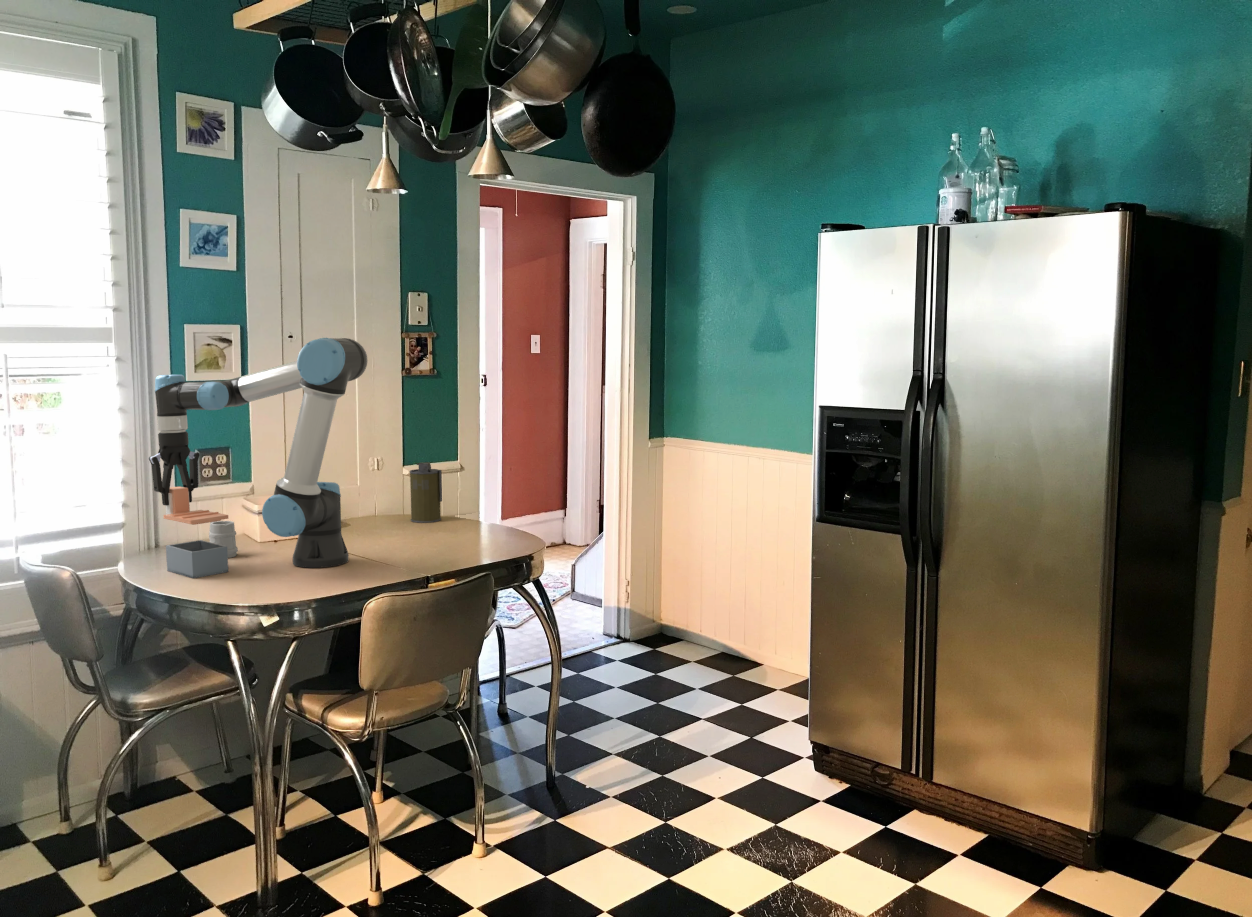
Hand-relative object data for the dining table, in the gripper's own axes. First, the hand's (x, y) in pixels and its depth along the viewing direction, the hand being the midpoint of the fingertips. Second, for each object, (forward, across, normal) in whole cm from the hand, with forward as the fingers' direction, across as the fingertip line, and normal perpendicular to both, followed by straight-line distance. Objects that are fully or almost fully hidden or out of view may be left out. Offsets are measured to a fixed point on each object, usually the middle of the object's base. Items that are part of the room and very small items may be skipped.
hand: (178, 515), depth 287 cm
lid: (0, 0, +7) cm, 7 cm away
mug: (+15, -15, -6) cm, 21 cm away
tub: (+14, 0, +9) cm, 17 cm away
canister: (+15, -90, -5) cm, 92 cm away
